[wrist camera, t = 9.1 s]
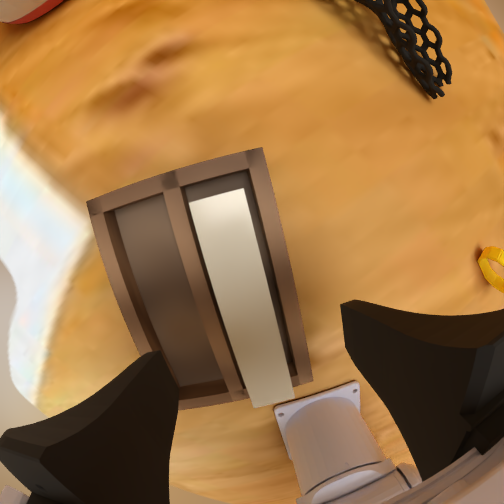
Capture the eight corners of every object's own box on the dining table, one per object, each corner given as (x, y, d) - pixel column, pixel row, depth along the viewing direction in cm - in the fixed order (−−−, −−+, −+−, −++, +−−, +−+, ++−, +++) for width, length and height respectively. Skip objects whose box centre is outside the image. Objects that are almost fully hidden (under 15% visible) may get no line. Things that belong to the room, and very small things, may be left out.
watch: (493, 270, 22) (530, 287, 16) (482, 289, 22) (519, 308, 16) (481, 235, 20) (524, 249, 14) (469, 256, 20) (513, 274, 15)
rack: (304, 360, 21) (313, 380, 18) (175, 389, 20) (170, 411, 18) (257, 154, 17) (262, 147, 15) (104, 200, 17) (86, 201, 14)
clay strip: (280, 354, 19) (295, 397, 14) (248, 363, 19) (254, 408, 14) (239, 190, 17) (243, 188, 12) (200, 201, 17) (188, 202, 12)
